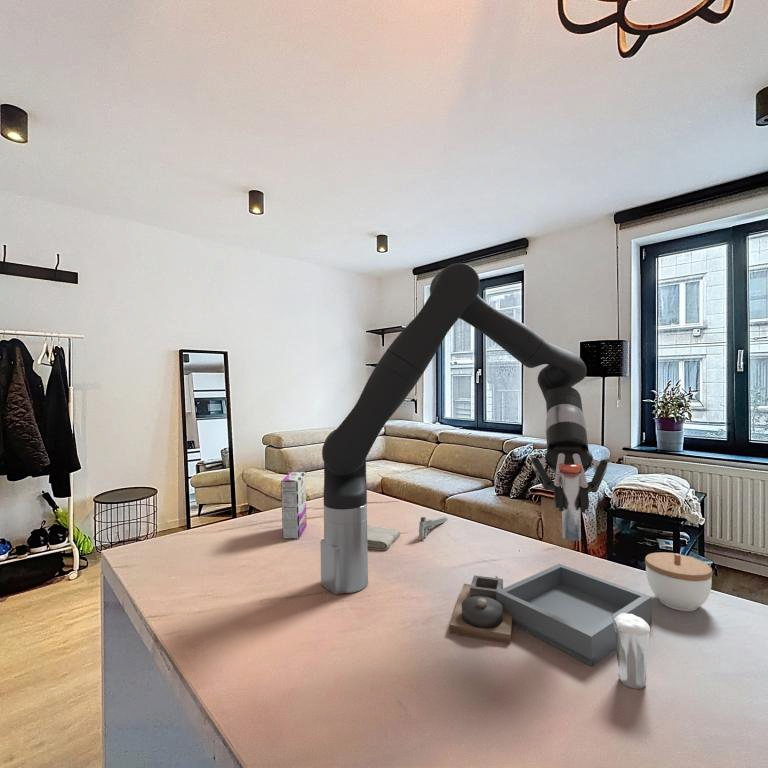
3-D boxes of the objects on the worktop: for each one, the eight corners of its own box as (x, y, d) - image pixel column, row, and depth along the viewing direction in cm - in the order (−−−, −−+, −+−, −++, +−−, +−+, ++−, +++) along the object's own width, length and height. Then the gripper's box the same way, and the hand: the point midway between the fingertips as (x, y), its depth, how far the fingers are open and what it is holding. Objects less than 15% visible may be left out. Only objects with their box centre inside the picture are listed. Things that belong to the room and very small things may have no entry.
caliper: (422, 542, 119) (422, 519, 119) (419, 541, 120) (418, 518, 120) (447, 520, 138) (447, 500, 137) (444, 519, 138) (444, 499, 138)
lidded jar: (701, 594, 88) (700, 547, 88) (722, 622, 78) (721, 569, 78) (640, 586, 92) (639, 541, 92) (652, 612, 81) (652, 561, 81)
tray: (591, 666, 67) (591, 636, 66) (496, 616, 81) (496, 591, 81) (651, 622, 78) (651, 596, 78) (559, 585, 93) (559, 563, 93)
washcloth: (343, 530, 130) (343, 520, 130) (402, 537, 124) (401, 526, 124) (324, 544, 119) (324, 533, 119) (387, 552, 113) (387, 540, 113)
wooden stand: (510, 643, 72) (510, 616, 72) (449, 633, 76) (449, 607, 76) (514, 597, 88) (514, 575, 88) (464, 590, 91) (463, 569, 91)
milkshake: (602, 672, 65) (601, 604, 65) (636, 670, 66) (636, 602, 65) (621, 694, 61) (620, 621, 60) (658, 691, 61) (657, 619, 61)
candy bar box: (290, 526, 133) (289, 471, 133) (307, 526, 133) (306, 471, 133) (281, 539, 122) (280, 480, 122) (299, 539, 122) (298, 480, 122)
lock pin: (575, 543, 77) (574, 467, 77) (556, 537, 80) (554, 464, 80) (587, 538, 79) (586, 464, 79) (567, 532, 83) (566, 462, 82)
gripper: (528, 419, 89) (529, 496, 77) (606, 420, 84) (619, 501, 73) (529, 442, 94) (530, 517, 83) (602, 444, 90) (614, 523, 78)
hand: (572, 509), depth 78 cm, fingers closed on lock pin, 3 cm apart
